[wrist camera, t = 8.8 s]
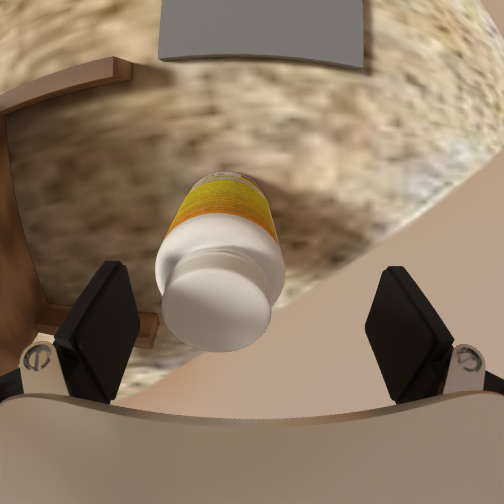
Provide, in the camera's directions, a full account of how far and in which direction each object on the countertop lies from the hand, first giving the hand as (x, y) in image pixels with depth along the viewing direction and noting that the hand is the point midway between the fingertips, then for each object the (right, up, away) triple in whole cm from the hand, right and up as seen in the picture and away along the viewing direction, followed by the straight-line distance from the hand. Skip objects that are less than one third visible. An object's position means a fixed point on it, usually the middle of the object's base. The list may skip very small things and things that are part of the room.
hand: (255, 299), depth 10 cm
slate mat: (+1, +18, +1) cm, 19 cm away
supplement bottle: (-2, +4, +9) cm, 10 cm away
